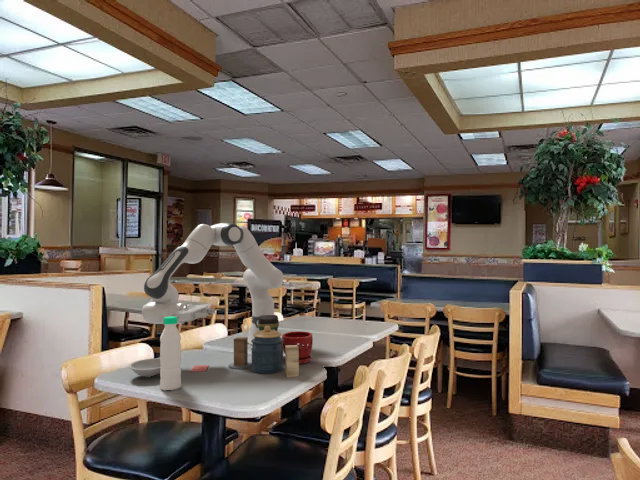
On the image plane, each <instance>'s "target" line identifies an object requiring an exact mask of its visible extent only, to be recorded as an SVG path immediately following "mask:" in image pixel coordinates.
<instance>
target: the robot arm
mask: <svg viewBox="0 0 640 480" xmlns="http://www.w3.org/2000/svg"><path fill="white" fill-rule="evenodd" d="M212 246H215V247H227V246H229V247H230V246H231V247H232V246H233V248H234V250H235V252H236V254H237V255H238V257H239V259H240V262H241V263H242V264H243V265H244V266H245V267H246V268H247V269H246V270H244V272H243V275H242V276H243V277H242V278H243V282H244V284H245V285H246V287H247V289H248V290H249V294H250V297H251V302H252V303H251V305H252V308H251V310H252V315H251V324H250V325H249V327H248V336H247V338H248V344H249V345H251V346H252V345H253V344H252V342H251V340H252V339H254V336H253V334H255V333H256V332H257V331H259V327H258V319H259V316H262V315H275V300H274V298H273V297H272V296H271V294H270V291H269V290H274V289H278V288H280V287H282V284H283V282H284V280H285V279H284V274H283V273H284V272H282V271H281V270H280V269H278V268H277V267H275V266H274V265H273V263H272V262H270V260H269V259H268V258H267V257H266V256H265V255H264V253H263V251H262V250H261V248H260V246H259V245H258V242H257V241H256V238H255V237H254V235H253V234H252V232H251V231H250V230H249V229H248V227H246V226H244V225H237V224H236V223H232V222H227V223H226V222H221V223H213V224H210V225H209V224H205V223H201V224H198V225H197V226H196V227H195V228H194V229H193V230H192V231H191V232H190V234H189V235H188V237H187V238H186V239H185V241H184V242H183V243H182V245H181V246H178V247H176V248H175V249H174V250H173V251H172V252H171V253H170V254H169V256H168V257H167V258H166V259H165V260H164V261H163V263H162V264H161V265H160V266H159V267H158V268H157V270H156V271H155V272H153V273H152V274H151V275H149V276H148V277H147V278H146V280H145V281H144V285H143V290H144V291H143V292H144V293H145V294H146V295H147V296H148V297H150V299H149V301H148V302H146V304H144V305H143V306H142V307H141V316H142V319H143V321H145V322H146V323H148V324H155V325H156V324H157V325H160V324H161V325H164V323H163V320H164V318H165V317H171V316H174V317H177V320H178V321H177V325H183V324H185V323H186V322H193V321H195V320H196V319H201V318H202V319H203V318H204V319H205V318H206V317H208V315H209V314H211V315H214V314H215V313H216V309H215V308H209V306H208V305H204V304H192V303H191V302H185V303H184V302H178V300H179V297H180V293H179V290H178V289H177V288H176V287H175V286H174V285H173V284H172V283H171V281H170V279H171V277H172V276H173V275H174V273H175V272H176V271H177V270H178V268H180V266H181V265H183V264H184V263H185V264H193V265H194V264H198V263H200V262H201V261H203V259H204V258H205V257H206V255H207V253H208V252H209V250H210V248H211V247H212ZM280 337H281V338H282V335H281V336H280Z"/></svg>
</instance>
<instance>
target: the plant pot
mask: <svg viewBox="0 0 640 480" xmlns="http://www.w3.org/2000/svg"><path fill="white" fill-rule="evenodd" d="M281 336H282V339H283V342H282V347H283V354H285V346H287V345H297V346H298V347H299V365H301V364H307V363H309V362H310V361H311V360H312V355H311V353H312V350H313V345H314V344H313V341H314V339H313V333H311V332H309V331H288V332H285V333H283V334H281ZM283 360H285V356H283Z"/></svg>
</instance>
